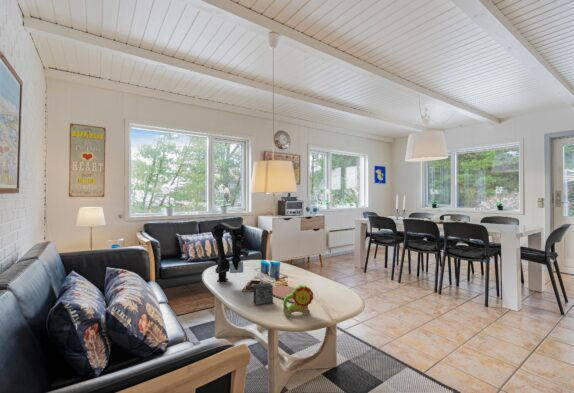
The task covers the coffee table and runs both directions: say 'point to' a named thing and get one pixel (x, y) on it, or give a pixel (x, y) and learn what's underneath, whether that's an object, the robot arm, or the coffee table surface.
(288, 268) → the coffee table surface
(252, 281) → the keyed nest
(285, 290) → the notebook
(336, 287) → the coffee table surface
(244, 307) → the coffee table surface
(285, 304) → the toy lion
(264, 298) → the small box
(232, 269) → the key block
